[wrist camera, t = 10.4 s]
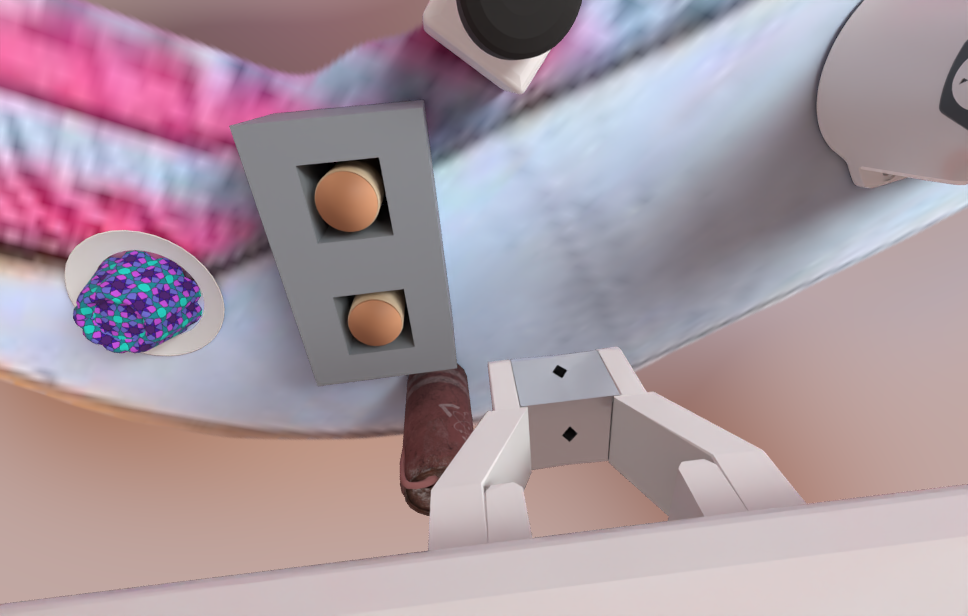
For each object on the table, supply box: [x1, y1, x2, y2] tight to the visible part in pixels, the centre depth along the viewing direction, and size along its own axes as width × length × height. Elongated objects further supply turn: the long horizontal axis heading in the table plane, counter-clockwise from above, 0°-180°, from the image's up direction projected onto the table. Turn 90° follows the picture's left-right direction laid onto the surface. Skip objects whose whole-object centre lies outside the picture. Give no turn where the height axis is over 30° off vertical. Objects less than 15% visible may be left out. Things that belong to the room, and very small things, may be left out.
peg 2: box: [348, 289, 406, 346], centre depth 35 cm, size 4×4×8 cm
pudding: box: [64, 230, 225, 356], centre depth 35 cm, size 12×12×5 cm
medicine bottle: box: [422, 0, 582, 94], centre depth 25 cm, size 7×7×12 cm
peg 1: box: [315, 157, 386, 232], centre depth 31 cm, size 4×4×8 cm
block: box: [230, 100, 457, 386], centre depth 33 cm, size 11×19×8 cm, turn 5°
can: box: [400, 364, 474, 516], centre depth 39 cm, size 6×6×14 cm
